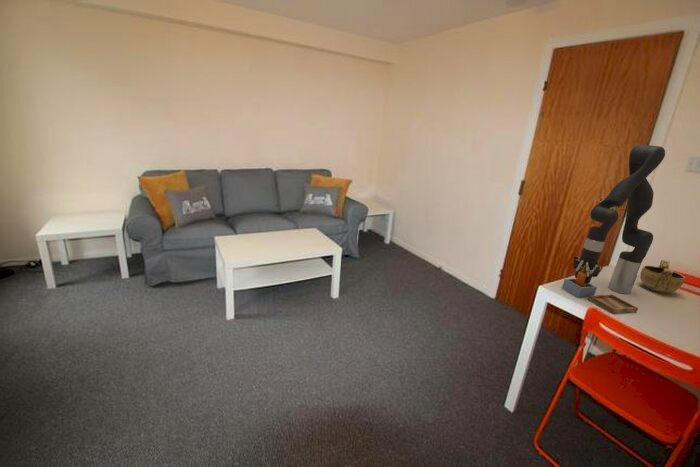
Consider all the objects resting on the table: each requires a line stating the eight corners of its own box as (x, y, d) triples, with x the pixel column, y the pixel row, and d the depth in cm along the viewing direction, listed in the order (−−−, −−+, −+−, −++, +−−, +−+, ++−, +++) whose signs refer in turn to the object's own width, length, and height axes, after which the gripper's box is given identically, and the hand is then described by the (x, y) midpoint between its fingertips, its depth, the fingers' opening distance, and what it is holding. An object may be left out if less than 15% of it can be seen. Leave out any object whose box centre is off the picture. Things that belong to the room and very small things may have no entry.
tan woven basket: (679, 303, 167) (691, 275, 162) (636, 290, 177) (646, 264, 172) (674, 289, 184) (686, 264, 179) (635, 278, 194) (645, 254, 189)
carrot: (579, 291, 169) (589, 264, 164) (585, 295, 164) (595, 268, 160) (569, 289, 169) (578, 262, 165) (574, 294, 165) (584, 266, 160)
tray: (610, 298, 164) (612, 294, 163) (636, 312, 153) (638, 307, 152) (587, 299, 160) (589, 295, 159) (612, 314, 149) (614, 309, 148)
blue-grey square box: (576, 288, 172) (579, 278, 171) (593, 297, 164) (597, 287, 162) (561, 288, 170) (564, 278, 168) (578, 298, 161) (581, 287, 159)
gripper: (613, 254, 154) (600, 287, 159) (585, 243, 167) (575, 274, 172) (600, 254, 152) (588, 287, 157) (573, 243, 165) (563, 274, 170)
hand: (581, 280), depth 165 cm, fingers closed on carrot, 4 cm apart
